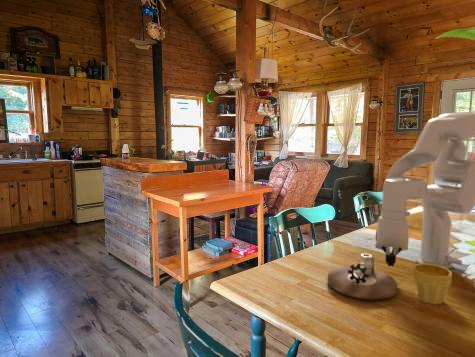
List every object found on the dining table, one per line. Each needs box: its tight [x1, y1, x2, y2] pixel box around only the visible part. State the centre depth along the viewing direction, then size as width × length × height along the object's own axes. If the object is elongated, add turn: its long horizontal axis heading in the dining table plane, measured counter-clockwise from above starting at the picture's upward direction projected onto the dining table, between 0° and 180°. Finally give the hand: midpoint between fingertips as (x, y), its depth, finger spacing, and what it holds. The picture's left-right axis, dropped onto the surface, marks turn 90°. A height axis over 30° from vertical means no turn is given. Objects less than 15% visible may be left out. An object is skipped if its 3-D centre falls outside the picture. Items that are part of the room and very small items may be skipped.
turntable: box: [327, 255, 398, 301], centre depth 112 cm, size 22×22×7 cm
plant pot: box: [412, 263, 453, 305], centre depth 104 cm, size 10×10×10 cm
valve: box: [348, 253, 373, 284], centre depth 114 cm, size 7×7×12 cm
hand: (390, 264), depth 119 cm, fingers closed
